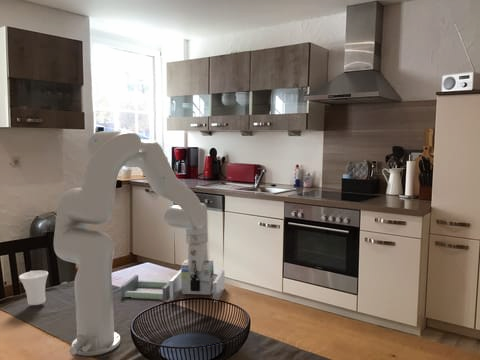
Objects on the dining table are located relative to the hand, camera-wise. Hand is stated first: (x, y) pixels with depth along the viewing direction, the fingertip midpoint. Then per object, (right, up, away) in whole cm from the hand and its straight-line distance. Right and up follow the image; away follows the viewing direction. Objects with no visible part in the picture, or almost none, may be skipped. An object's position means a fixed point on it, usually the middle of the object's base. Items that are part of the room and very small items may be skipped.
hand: (198, 286), depth 153 cm
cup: (-54, -3, -8) cm, 55 cm away
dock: (-18, -3, +3) cm, 18 cm away
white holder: (0, -3, 0) cm, 3 cm away
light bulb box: (0, -2, 0) cm, 2 cm away
